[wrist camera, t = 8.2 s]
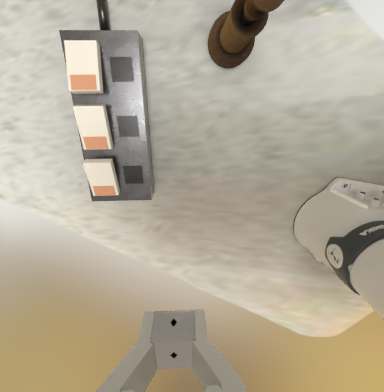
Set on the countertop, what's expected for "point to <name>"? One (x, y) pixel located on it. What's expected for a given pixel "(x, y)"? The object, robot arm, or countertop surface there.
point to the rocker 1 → (83, 66)
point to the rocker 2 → (101, 177)
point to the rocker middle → (93, 126)
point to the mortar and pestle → (238, 31)
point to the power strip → (120, 107)
